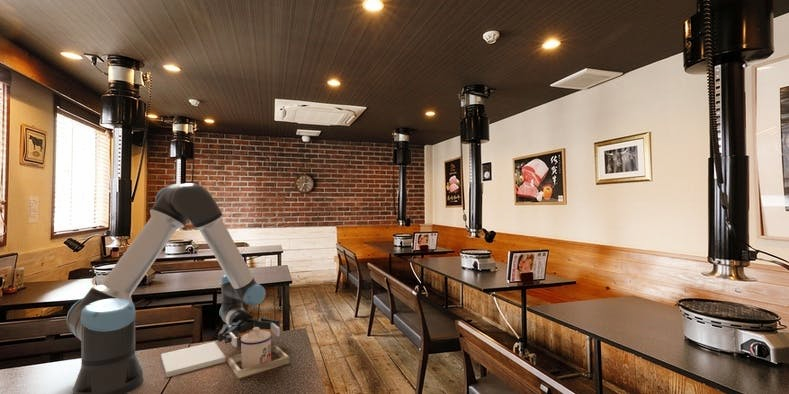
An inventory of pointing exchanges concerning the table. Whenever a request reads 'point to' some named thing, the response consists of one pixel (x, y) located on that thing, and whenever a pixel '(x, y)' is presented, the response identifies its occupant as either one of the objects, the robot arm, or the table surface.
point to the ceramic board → (191, 358)
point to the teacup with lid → (255, 348)
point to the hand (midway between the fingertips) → (258, 337)
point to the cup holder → (261, 367)
